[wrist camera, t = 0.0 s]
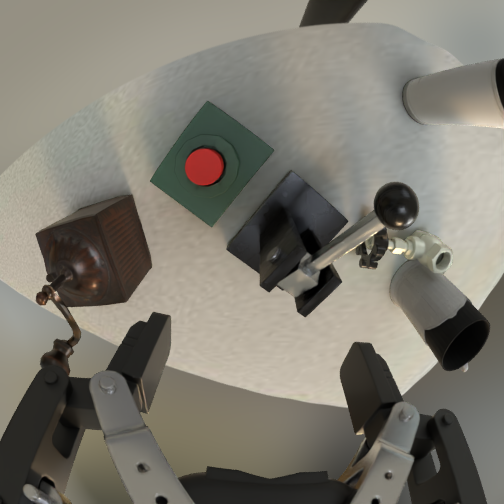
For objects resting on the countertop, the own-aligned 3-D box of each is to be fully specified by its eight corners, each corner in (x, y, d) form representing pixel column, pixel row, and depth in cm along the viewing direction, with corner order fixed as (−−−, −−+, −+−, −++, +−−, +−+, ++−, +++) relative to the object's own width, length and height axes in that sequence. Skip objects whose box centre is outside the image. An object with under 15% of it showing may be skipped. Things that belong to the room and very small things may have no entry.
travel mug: (402, 70, 24) (516, 36, 6) (441, 91, 24) (555, 84, 6) (396, 112, 26) (521, 106, 8) (435, 131, 27) (556, 148, 8)
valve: (434, 221, 32) (362, 206, 31) (462, 238, 26) (384, 222, 25) (422, 264, 34) (351, 256, 34) (445, 286, 28) (368, 280, 28)
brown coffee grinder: (71, 211, 32) (-20, 263, 16) (133, 192, 31) (36, 244, 15) (105, 304, 38) (47, 384, 21) (166, 299, 37) (117, 397, 21)
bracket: (291, 169, 30) (312, 188, 18) (345, 218, 32) (389, 262, 20) (227, 245, 34) (210, 303, 22) (282, 286, 36) (291, 353, 24)
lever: (396, 165, 16) (404, 186, 13) (421, 196, 16) (432, 222, 14) (278, 258, 24) (270, 284, 22) (304, 277, 25) (298, 304, 23)
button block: (210, 103, 27) (203, 97, 23) (273, 149, 29) (275, 150, 26) (156, 178, 31) (143, 183, 27) (214, 222, 33) (209, 232, 29)
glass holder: (427, 245, 33) (492, 299, 19) (448, 306, 37) (493, 362, 23) (381, 280, 35) (430, 350, 21) (409, 336, 39) (446, 399, 26)
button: (203, 141, 26) (199, 141, 24) (231, 162, 26) (229, 163, 25) (182, 169, 27) (177, 171, 25) (209, 189, 28) (206, 192, 26)
